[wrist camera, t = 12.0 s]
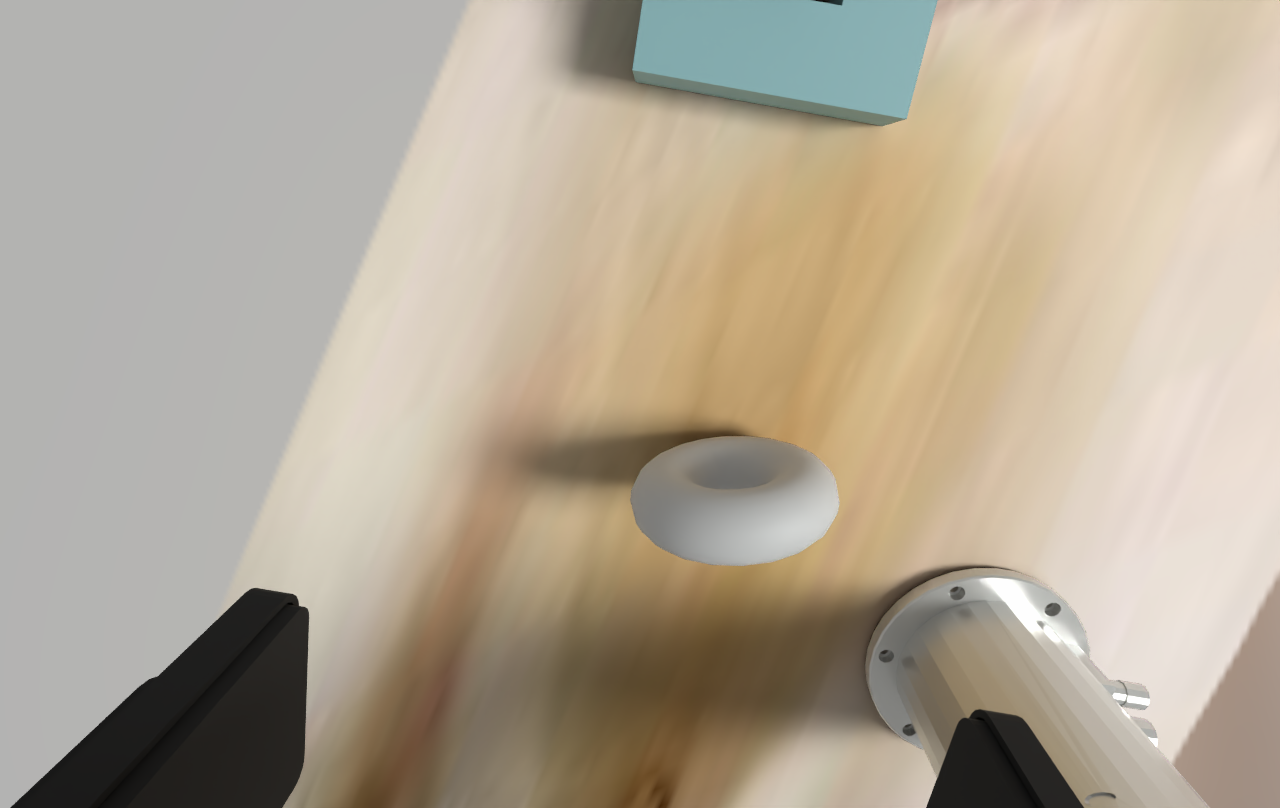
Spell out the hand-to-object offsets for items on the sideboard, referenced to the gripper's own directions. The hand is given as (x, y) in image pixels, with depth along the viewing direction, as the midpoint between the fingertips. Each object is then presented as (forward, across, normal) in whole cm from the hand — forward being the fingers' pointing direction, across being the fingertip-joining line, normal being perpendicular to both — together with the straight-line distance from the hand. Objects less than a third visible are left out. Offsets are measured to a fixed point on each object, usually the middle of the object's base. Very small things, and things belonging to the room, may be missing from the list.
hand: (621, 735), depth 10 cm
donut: (+28, -5, +6) cm, 30 cm away
